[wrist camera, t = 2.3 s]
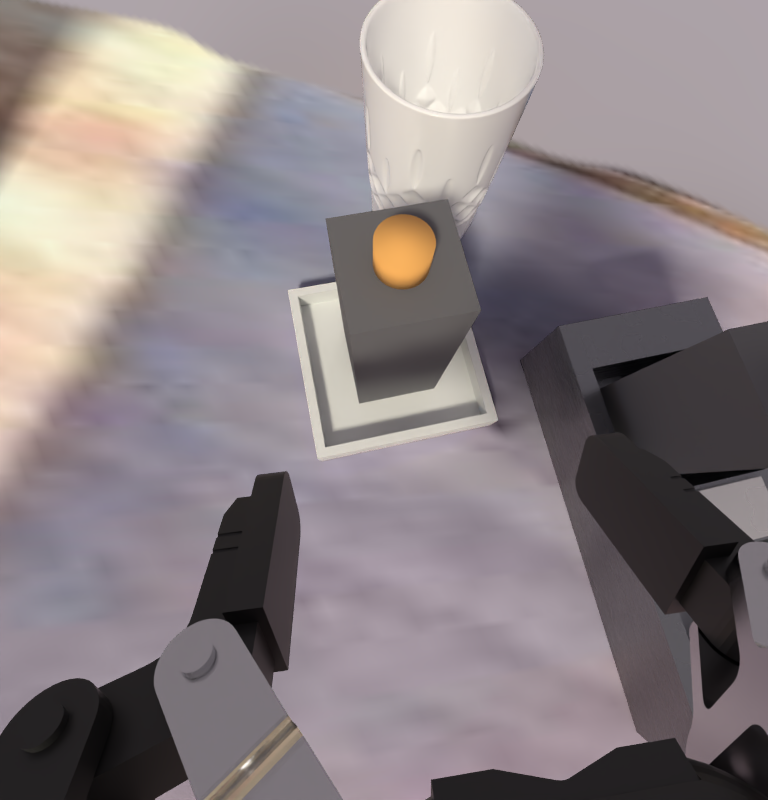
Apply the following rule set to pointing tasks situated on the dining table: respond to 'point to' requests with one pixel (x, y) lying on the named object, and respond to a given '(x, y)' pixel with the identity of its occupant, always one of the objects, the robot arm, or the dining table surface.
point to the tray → (386, 418)
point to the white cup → (444, 97)
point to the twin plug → (700, 404)
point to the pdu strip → (607, 570)
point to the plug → (401, 295)
